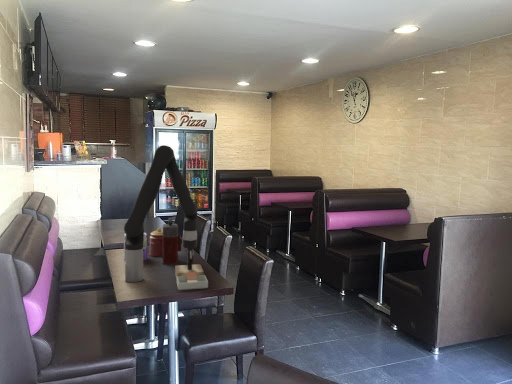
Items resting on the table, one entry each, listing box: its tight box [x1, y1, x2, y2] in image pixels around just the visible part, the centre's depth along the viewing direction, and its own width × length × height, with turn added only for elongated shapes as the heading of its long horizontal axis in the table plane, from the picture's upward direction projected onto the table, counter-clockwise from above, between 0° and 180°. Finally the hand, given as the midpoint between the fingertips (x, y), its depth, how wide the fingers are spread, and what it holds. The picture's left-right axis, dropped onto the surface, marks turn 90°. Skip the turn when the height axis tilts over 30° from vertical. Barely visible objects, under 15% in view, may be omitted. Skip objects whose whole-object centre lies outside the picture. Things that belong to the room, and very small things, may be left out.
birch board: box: [174, 263, 205, 280], centre depth 222 cm, size 14×14×5 cm
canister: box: [148, 227, 163, 257], centre depth 268 cm, size 13×13×18 cm
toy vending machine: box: [162, 217, 182, 265], centre depth 250 cm, size 9×11×28 cm
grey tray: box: [176, 274, 209, 291], centre depth 210 cm, size 15×11×4 cm
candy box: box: [123, 232, 148, 262], centre depth 254 cm, size 14×6×16 cm, turn 112°
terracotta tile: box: [186, 272, 197, 280], centre depth 212 cm, size 5×5×2 cm
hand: (189, 269), depth 219 cm, fingers closed
